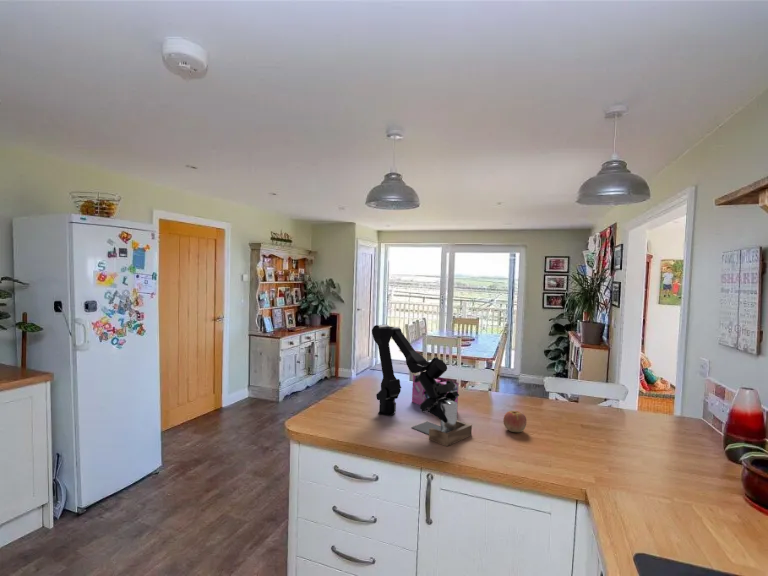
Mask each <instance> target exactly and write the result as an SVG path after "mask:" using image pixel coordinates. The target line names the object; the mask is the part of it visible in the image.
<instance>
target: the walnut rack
mask: <svg viewBox="0 0 768 576" xmlns="http://www.w3.org/2000/svg"><path fill="white" fill-rule="evenodd" d="M472 429H473V424H470V423H467V422H463V421H461V420H458V419H457V425H456V429H455V430H453V431H451V432H448V433H444V432H442V431H439V430H436V429H434V428H430V429H429V435H428V440H430V441H433V442H434V443H438V444H440V445H442V446H444V447H449V446H451V445H453V444H456V443H457V441H458V442H459V441H462V440H464V439H466V438H469V437H471V436H472Z"/></svg>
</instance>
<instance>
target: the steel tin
mask: <svg viewBox="0 0 768 576" xmlns="http://www.w3.org/2000/svg"><path fill="white" fill-rule="evenodd" d="M441 409H442V411H443V413H444V415H445V416H446V418H447V421H448V422H447V423H445V422H443V421H442V420H441V419H440V426H441V430H440V431H442V432H444V433H448V432H451V431H453V430H455V429H456V425H457V420H458V418H457V417H458V408H457V402H454V401H449V400H446V401H442V404H441Z"/></svg>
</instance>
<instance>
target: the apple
mask: <svg viewBox="0 0 768 576" xmlns="http://www.w3.org/2000/svg"><path fill="white" fill-rule="evenodd" d="M502 422H503V425H504V427H505V429H506V430H508V431H509V432H511V433H522V432H524V430H525V429H526V427H527V423H528V422H527V416H526V415H525V414H524V413H523V412H522V411H519V410H509V411H507V412H506V413H505V414H504V416H503V421H502Z"/></svg>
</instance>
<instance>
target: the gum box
mask: <svg viewBox="0 0 768 576" xmlns="http://www.w3.org/2000/svg"><path fill="white" fill-rule="evenodd" d="M416 375H417V374H415V373H412V392H411V402H412V403H413V404H416V405H419V406H420V404H421V403H423V402H424V401H425V400H426V399H427V398H429V396H428V395H427V394H424V392H425V390H424V388H423V386H422V385H421V383H420V381H419V382H415V377H416ZM435 380H436V382H437V383H441V385H444V384H446V382H447V381H450V379H446V378H443V377H441V376H440V377H439V378H438V379H435ZM452 381H453V383H454V384H455V388H454V391H457V392H458V393H459V382H458V381H457V382H456V381H455V380H452ZM450 392H451V391H450ZM448 393H449V392H447V394H448ZM444 396H445V395H444ZM455 402H457V409H458V406H459V405H458V403H459V396H458V397H457V398H456V400H455ZM441 404H442V403H441ZM428 409H429V407H428Z"/></svg>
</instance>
